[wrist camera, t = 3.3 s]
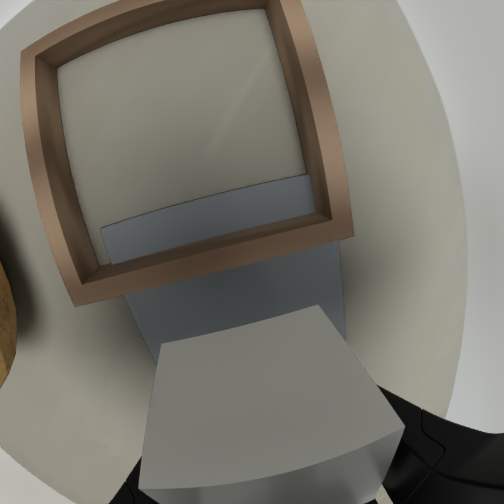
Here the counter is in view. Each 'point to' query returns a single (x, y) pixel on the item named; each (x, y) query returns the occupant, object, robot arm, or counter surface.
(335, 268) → the mat
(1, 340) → the potato
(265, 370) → the white cube
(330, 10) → the counter surface
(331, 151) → the bin
